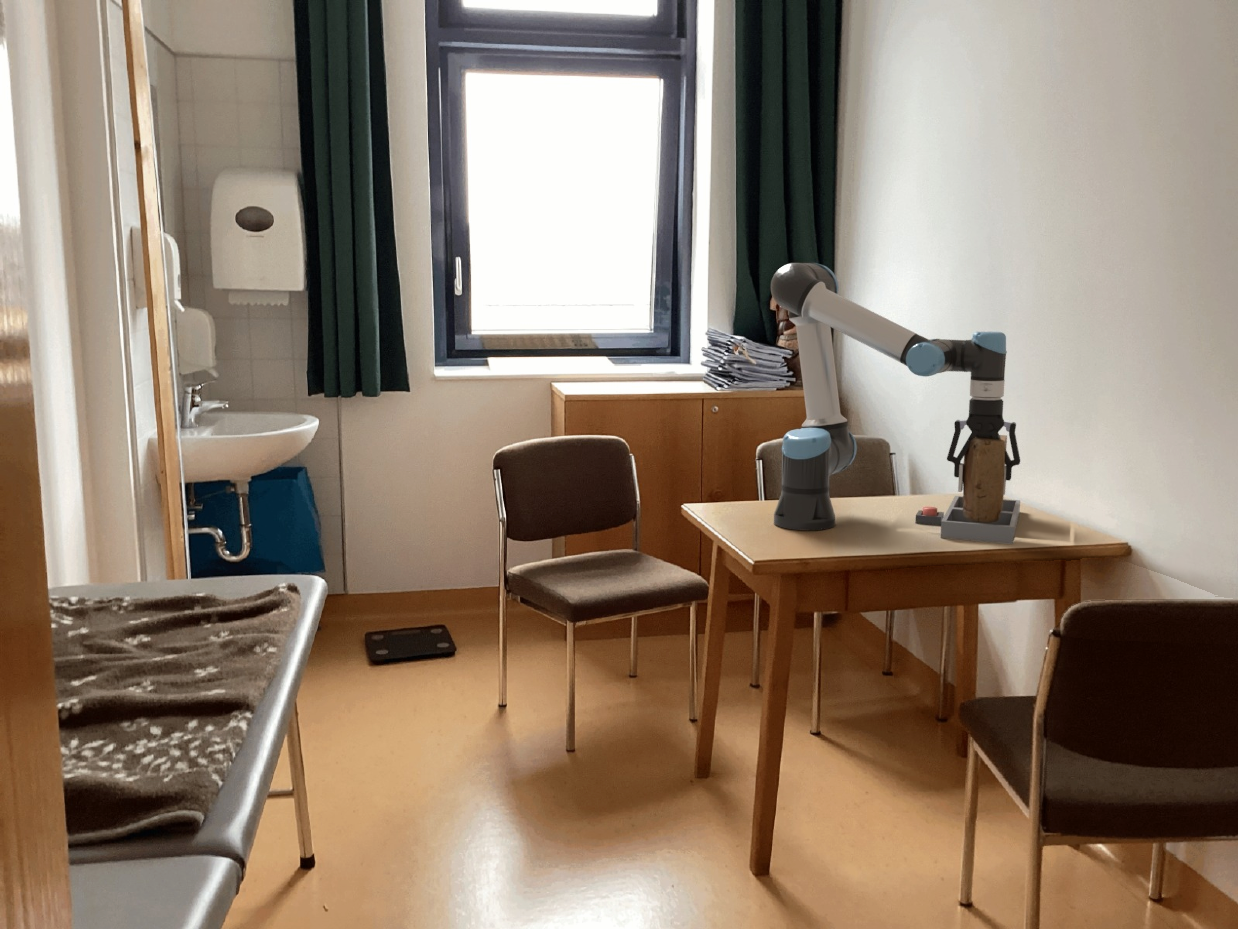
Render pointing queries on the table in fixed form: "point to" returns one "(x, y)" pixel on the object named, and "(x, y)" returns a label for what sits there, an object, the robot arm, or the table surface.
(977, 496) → the block
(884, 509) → the table surface
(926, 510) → the button
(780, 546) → the table surface
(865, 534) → the table surface
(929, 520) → the button housing
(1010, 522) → the gray divided tray
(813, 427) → the robot arm
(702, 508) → the table surface
